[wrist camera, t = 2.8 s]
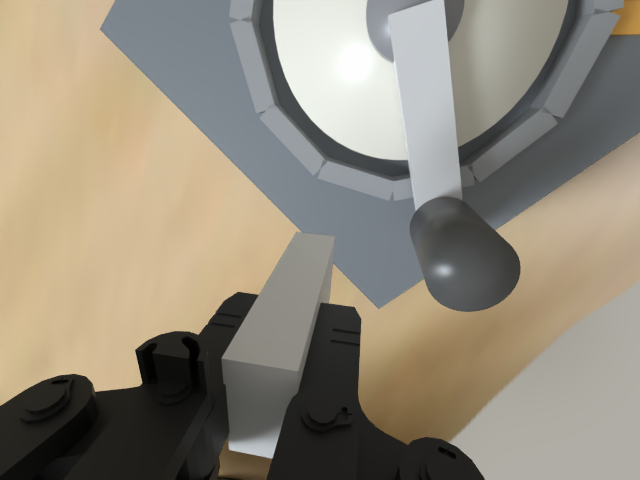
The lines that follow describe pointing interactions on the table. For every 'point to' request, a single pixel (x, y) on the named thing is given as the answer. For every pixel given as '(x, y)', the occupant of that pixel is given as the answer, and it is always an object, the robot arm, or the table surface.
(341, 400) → the robot arm
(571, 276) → the table surface
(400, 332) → the table surface
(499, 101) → the dial
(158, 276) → the table surface
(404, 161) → the panel
